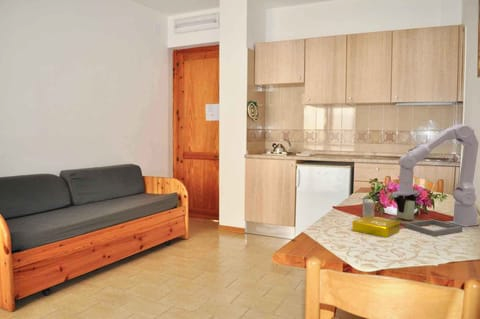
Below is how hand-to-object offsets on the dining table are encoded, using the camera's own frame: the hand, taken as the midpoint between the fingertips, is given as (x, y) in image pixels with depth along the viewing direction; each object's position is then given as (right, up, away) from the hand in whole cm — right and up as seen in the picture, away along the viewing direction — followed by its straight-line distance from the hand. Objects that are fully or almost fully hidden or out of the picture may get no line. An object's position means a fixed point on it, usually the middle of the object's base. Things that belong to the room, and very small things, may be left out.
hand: (404, 211), depth 175 cm
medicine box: (-15, -4, +4) cm, 16 cm away
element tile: (-18, -6, -15) cm, 24 cm away
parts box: (0, -3, 0) cm, 3 cm away
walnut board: (0, -4, 0) cm, 4 cm away
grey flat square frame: (+6, -6, -13) cm, 16 cm away
